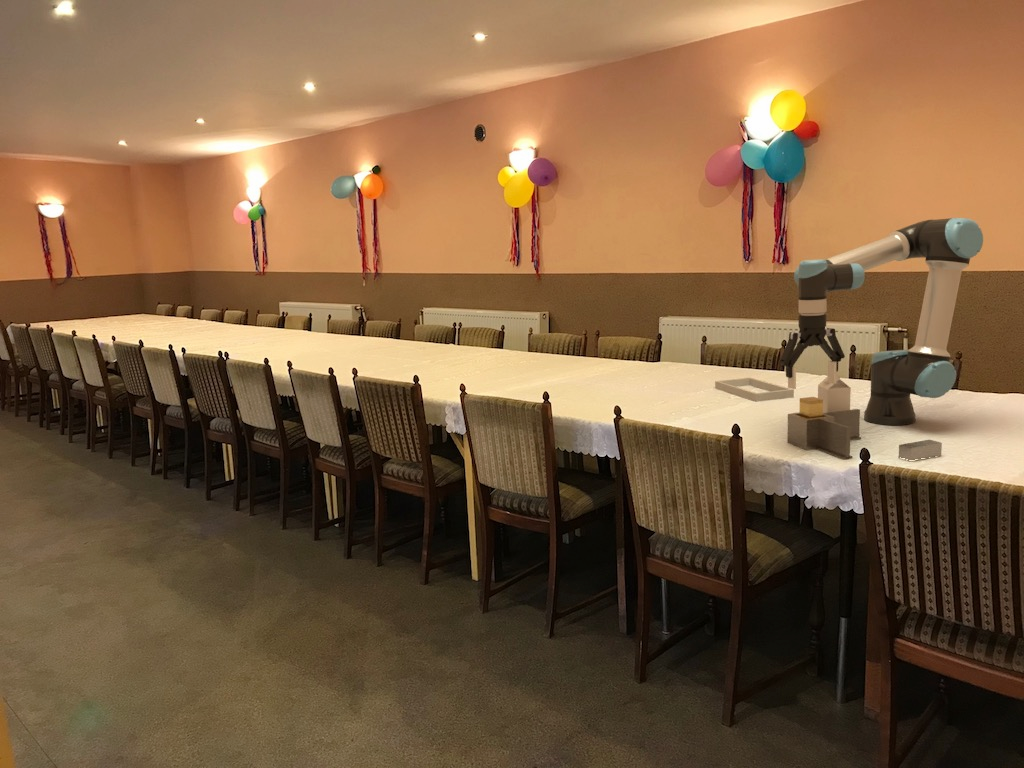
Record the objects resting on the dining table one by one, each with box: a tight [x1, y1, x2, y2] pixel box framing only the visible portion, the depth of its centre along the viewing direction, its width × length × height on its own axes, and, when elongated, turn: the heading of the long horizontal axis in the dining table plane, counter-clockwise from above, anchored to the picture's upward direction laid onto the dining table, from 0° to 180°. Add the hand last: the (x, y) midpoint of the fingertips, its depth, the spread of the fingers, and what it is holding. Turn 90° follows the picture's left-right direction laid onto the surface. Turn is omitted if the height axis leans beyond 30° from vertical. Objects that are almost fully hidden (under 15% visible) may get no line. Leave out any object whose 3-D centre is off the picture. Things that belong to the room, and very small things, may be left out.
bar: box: [898, 439, 943, 460], centre depth 206 cm, size 11×4×4 cm, turn 110°
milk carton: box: [817, 373, 852, 413], centre depth 233 cm, size 7×7×19 cm
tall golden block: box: [798, 396, 823, 419], centre depth 222 cm, size 5×5×14 cm
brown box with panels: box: [787, 408, 862, 461], centre depth 219 cm, size 21×21×9 cm
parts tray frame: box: [714, 377, 795, 403], centre depth 300 cm, size 16×30×3 cm, turn 14°
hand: (812, 385), depth 221 cm, fingers open, 13 cm apart
